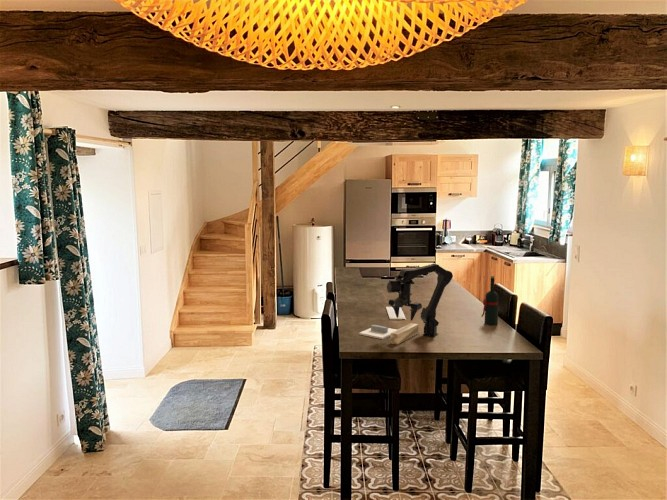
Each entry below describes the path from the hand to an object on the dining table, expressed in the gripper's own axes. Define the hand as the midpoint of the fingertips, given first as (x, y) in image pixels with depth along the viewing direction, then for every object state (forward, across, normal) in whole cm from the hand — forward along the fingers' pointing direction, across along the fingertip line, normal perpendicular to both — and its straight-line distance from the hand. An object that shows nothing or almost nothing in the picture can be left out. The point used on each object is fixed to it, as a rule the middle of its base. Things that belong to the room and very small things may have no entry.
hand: (404, 318), depth 288 cm
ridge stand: (+11, -16, 0) cm, 20 cm away
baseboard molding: (+11, -32, +44) cm, 55 cm away
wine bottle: (+10, +27, +57) cm, 64 cm away
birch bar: (+11, +1, 0) cm, 11 cm away
